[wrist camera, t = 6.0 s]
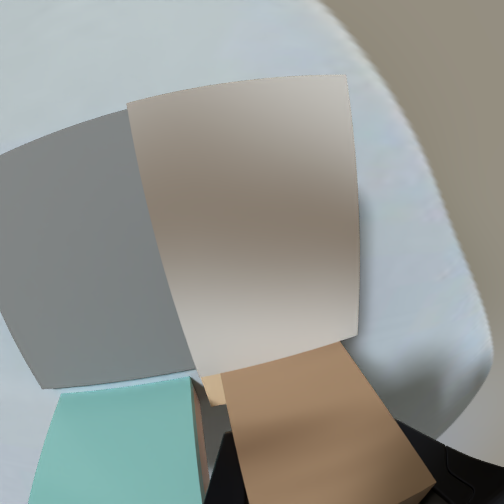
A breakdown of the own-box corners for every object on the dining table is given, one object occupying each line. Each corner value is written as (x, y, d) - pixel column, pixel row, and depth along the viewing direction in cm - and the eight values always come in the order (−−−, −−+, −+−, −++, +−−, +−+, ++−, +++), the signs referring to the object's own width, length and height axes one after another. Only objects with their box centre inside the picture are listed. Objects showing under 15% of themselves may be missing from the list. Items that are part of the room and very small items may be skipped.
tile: (199, 402, 12) (217, 528, 7) (77, 417, 11) (54, 526, 6) (189, 376, 12) (203, 511, 6) (61, 393, 11) (27, 505, 5)
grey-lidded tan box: (340, 426, 10) (397, 533, 6) (234, 456, 10) (265, 577, 5) (332, 77, 6) (562, 51, 1) (132, 105, 5) (-39, 39, 1)
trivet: (197, 361, 11) (198, 367, 11) (44, 383, 10) (42, 389, 10) (135, 109, 8) (133, 107, 8) (-36, 175, 7) (-41, 176, 7)
